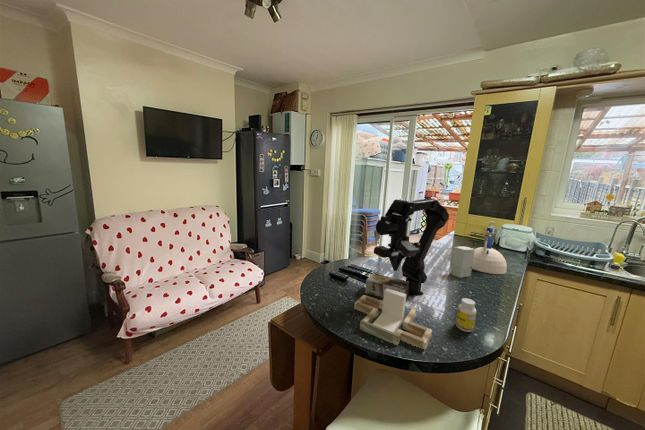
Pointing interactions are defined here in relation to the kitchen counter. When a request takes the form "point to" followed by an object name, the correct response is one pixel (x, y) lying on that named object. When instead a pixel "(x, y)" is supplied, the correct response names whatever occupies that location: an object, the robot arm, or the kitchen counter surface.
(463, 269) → the skincare box
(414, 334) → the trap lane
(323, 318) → the kitchen counter surface
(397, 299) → the bookend
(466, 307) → the supplement bottle
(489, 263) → the pale pink dome
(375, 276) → the coffee box
